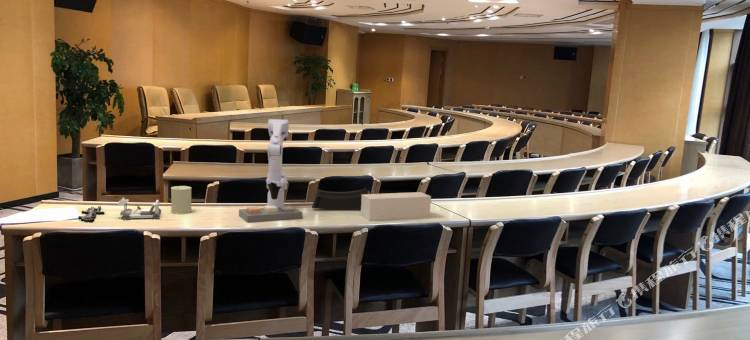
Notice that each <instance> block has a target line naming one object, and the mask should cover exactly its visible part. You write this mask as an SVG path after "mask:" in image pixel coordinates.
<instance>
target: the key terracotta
mask: <svg viewBox="0 0 750 340" xmlns="http://www.w3.org/2000/svg"><path fill="white" fill-rule="evenodd" d="M260 208H261V207H259V206H247V207H246V209H247V212H248V213H249V214H254V213H261V209H260Z"/></svg>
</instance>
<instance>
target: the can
mask: <svg viewBox="0 0 750 340" xmlns="http://www.w3.org/2000/svg"><path fill="white" fill-rule="evenodd" d="M170 189H171V190H170V192H171V193H170V195H171V200H170V201H171V203H170V204H171V208H170V209H171V211H170V213H172V214H175V213H178V214H177V215H183V214H184V215H185V214H190V213H192V187H191V186H187V185H179V186H178V185H176V186H175V185H174V186H171V187H170Z"/></svg>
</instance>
